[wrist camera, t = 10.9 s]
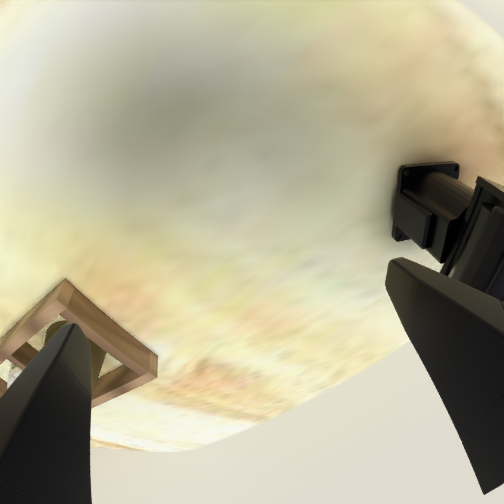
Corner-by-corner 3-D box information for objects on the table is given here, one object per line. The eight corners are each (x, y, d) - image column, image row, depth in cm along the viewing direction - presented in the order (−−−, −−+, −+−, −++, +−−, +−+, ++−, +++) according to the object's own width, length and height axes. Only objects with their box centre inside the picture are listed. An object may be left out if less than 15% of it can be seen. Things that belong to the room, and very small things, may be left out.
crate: (65, 278, 21) (56, 299, 19) (157, 356, 27) (157, 377, 25) (-23, 364, 24) (-30, 380, 22) (45, 412, 30) (42, 428, 28)
